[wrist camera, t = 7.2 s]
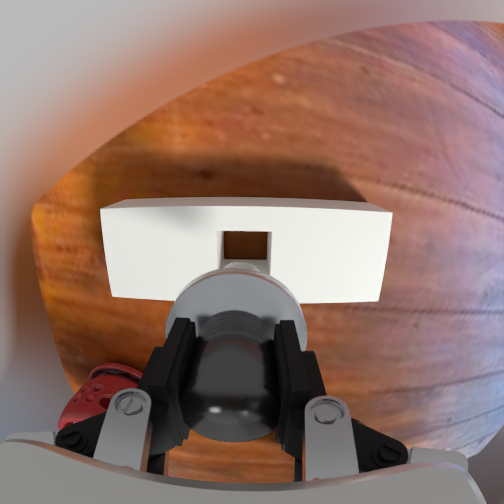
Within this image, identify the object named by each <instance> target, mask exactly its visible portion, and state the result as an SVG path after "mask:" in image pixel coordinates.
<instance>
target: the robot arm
mask: <svg viewBox="0 0 504 504" xmlns="http://www.w3.org/2000/svg"><path fill="white" fill-rule="evenodd" d="M196 339H197V336H196V326H195V322H191V320H190V318H182V317H176V318H175V320H174V323H173V325H172V327H171V330H170V332H169V334H168V337H167V339H166V341H165V344H164V346H163V347H155V348H154V350H153V352H152V355H151V357H150V359H149V361H148V363H147V366H146V368H145V370H144V372H143V375H142V377H141V379H140V381H139V384H138V386H137V388H136V389H135V388H129V389H124V390H121V391H119V392H118V393H116V394H115V395H114V396H113V398H112V399H111V401H110V404H109V407H108V410H107V411H105V412H103V413H100V414H98V415H95V416H93V417H90V418H87V419H85V420H82V421H79V422H77V423H74V424H71V425H69V426H66V427H64V428H62V429H61V430H60V431H59V432H58V434H55V433H54V432H53V431H50V432H34V433H14V434H11V435H9V436H8V437H7V438H6V439H5V440H4V441H1V442H0V504H486V501H485V499H484V497H483V495H482V493H481V491H480V490H479V488H478V486H477V484H476V483H475V482H474V480H473V478H472V477H471V476H470V475H469V473H468V461H467V458H466V457H465V455H463V454H462V453H460V452H457V451H447V450H436V449H427V448H419V447H412V449H407V448H406V447H405V446H404V445H403V444H402V443H401V442H399V441H398V440H395V439H393V438H391V437H389V436H386V435H384V434H382V433H380V432H378V431H375V430H373V429H371V428H369V427H367V426H365V425H363V424H361V423H360V422H357V421H355V420H353V419H351V418H350V412H349V409H348V406H347V405H346V404H345V403H344V401H342V400H340V399H339V398H336V397H333V396H327V394H326V391H325V387H324V384H323V380H322V377H321V373H320V370H319V366H318V363H317V359H316V356H315V353H314V351H301V347H300V343H299V339H298V334H297V330H296V326H295V322H294V320H280V323H279V324H275V326H274V340H273V341H274V350H275V359H276V368H277V377H278V387H279V396H280V406H281V408H280V415H279V422H278V426H277V427H276V428H275V438H276V443H281V446H282V450H285V452H287V453H288V454H290V455H291V456H293V469H292V482H286V483H224V482H210V481H199V480H191V479H183V478H176V477H169V476H167V475H168V462H169V450H170V449H172V448H174V447H175V445H176V446H182V442H183V439H188V436H189V431H190V428H189V427H188V426H187V425H186V424H185V422H184V420H183V416H182V412H181V408H180V404H179V402H180V398H181V395H182V391H183V387H184V383H185V380H186V376H187V372H188V368H189V365H190V361H191V357H192V354H193V350H194V347H195V343H196Z"/></svg>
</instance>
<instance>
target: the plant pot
mask: <svg viewBox="0 0 504 504" xmlns="http://www.w3.org/2000/svg"><path fill="white" fill-rule="evenodd" d="M142 375H143V373H142V372H140V371H139V370H137V369H134V368H132V367H130V366H127V365H123V364H118V363H105V364H101V365H99V366H97V367H95V368H94V369H93V370H92V371H91V372H90V374H89V381H88V382H87V383H85V384H84V385H83V386H82V387H81V388H80V390H79V391H78V392H77V393H76V394H75V395H74V396H73V398H72V399H71V400H70V401H69V403H68V404H67V405H66V407H65V409H64V410H63V412H62V414H61V417H60V419H59V423H58V428H59V431H60V430H61V429H62V428H64V427H66V426H69V425H71V424H73V422H76V423H77V422H79V421H82V420H85V419H87V418H90V417H93V416H95V415H98V414H100V413H103V412H105V411H107V410H108V407H109V404H110V401H111V399H112V398H113V396H114V395H115V394H116V393H118V392H119V391H121V390H124V389H129V388H135V389H136V388H137V386H138V384H139V381H140V379H141V377H142Z"/></svg>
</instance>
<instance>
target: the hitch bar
mask: <svg viewBox="0 0 504 504" xmlns="http://www.w3.org/2000/svg"><path fill="white" fill-rule="evenodd" d="M100 214H101V224H102V234H103V242H104V250H105V257H106V263H107V270H108V276H109V282H110V287H111V292H112V297H125V298H139V299H154V300H172V301H175V300H176V298H177V297H178V295H179V293H180V292H181V291H182V290H183V288H184V287H185V286H186V285H187V284H188V283H190V282H191V281H192V280H194V279H195V278H197V277H198V276H200V275H202V274H205V273H207V272H210V271H213V270H216V269H222V268H224V267H225V266H227V265H228V264H230V263H233V262H239V261H241V262H247V263H250V264H252V265H254V266H255V267H256V268H258V269H259V271H260V272H263V273H266V274H268V275H270V276H272V277H274V278H275V279H277V280H279V281H280V282H281V283H283V284H284V285H285V286H286V287H287V288H288V289H289V290H290V291H291V292H292V293H293V295H294V296H295V298H296V299H297V301H298V303H341V302H369V301H378V299H379V295H380V290H381V285H382V280H383V274H384V269H385V263H386V257H387V251H388V244H389V237H390V229H391V221H392V212H390V211H387V210H385V209H383V208H380V207H378V206H375V205H373V204H371V203H368V202H355V201H339V200H321V199H298V198H265V197H178V198H145V199H125V200H123V201H120V202H117V203H114V204H112V205H109V206H106V207H104V208H101V209H100ZM224 231H268V239H267V260H244V259H224Z"/></svg>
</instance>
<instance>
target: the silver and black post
mask: <svg viewBox="0 0 504 504" xmlns="http://www.w3.org/2000/svg"><path fill="white" fill-rule="evenodd" d="M176 317H182V318H190V320H191V322H195V326H196V336H197V339H196V343H195V347H194V350H193V354H192V357H191V361H190V365H189V368H188V372H187V376H186V380H185V383H184V387H183V391H182V395H181V398H180V402H179V404H180V408H181V412H182V416H183V420H184V422H185V424H186V425H187V426H188V427H189V428H191V429H192V430H193V431H195V432H197V433H198V434H200V435H202V436H205V437H207V438H210V439H214V440H218V441H224V442H246V441H251V440H255V439H258V438H261V437H263V436H266V435H267V434H269V433H271V432H272V431H273V430H274V429H275V428H276V427H277V426H278V422H279V415H280V408H281V406H280V396H279V387H278V377H277V368H276V359H275V350H274V341H273V340H274V326H275V324H279V323H280V320H294V322H295V326H296V330H297V334H298V339H299V343H300V347H301V351H305V349H306V345H307V327H306V323H305V320H304V316H303V313H302V310H301V307H300V305H299V303H298V301H297V299H296V298H295V296H294V295H293V293H292V292H291V291H290V290H289V289H288V288H287V287H286V286H285V285H284V284H283V283H281V282H280V281H279V280H277V279H275V278H274V277H272V276H270V275H268V274H266V273H263V272H260V271H259V269H258V268H256V267H255V266H254V265H252V264H250V263H247V262H241V261H239V262H233V263H230V264H228V265H227V266H225V267H224V268H222V269H216V270H213V271H210V272H207V273H205V274H202V275H200V276H198V277H197V278H195V279H194V280H192V281H191V282H190V283H188V284H187V285H186V286H185V287H184V288H183V290H182V291H181V292H180V293H179V295H178V297H177V298H176V300H175V302H174V304H173V306H172V308H171V310H170V312H169V315H168V317H167V322H166V329H165V334H166V339H167V337H168V334H169V332H170V330H171V327H172V325H173V323H174V320H175V318H176Z"/></svg>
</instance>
